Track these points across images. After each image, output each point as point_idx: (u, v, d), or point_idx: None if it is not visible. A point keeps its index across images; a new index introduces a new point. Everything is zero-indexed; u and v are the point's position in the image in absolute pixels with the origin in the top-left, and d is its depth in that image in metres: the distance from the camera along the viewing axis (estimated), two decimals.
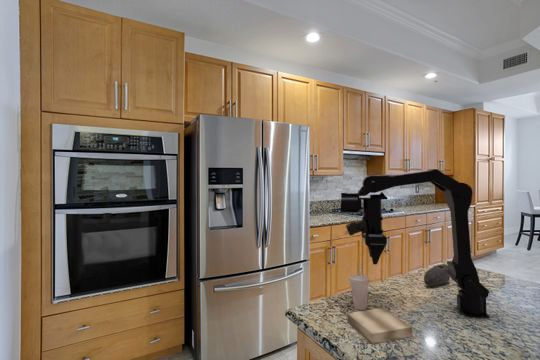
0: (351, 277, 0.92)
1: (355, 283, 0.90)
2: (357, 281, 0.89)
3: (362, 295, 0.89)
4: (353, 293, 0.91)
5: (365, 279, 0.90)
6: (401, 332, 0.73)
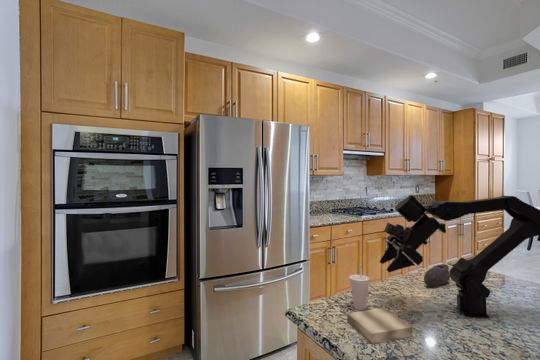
0: (351, 277, 0.92)
1: (355, 283, 0.90)
2: (357, 281, 0.89)
3: (362, 295, 0.89)
4: (353, 293, 0.91)
5: (365, 279, 0.90)
6: (401, 332, 0.73)
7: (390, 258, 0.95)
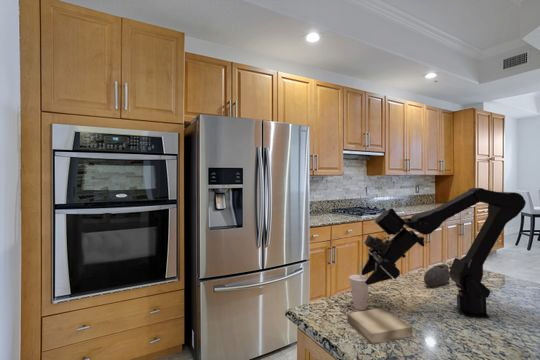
0: (351, 277, 0.92)
1: (355, 283, 0.90)
2: (357, 281, 0.89)
3: (362, 295, 0.89)
4: (353, 293, 0.91)
5: (365, 279, 0.90)
6: (401, 332, 0.73)
7: (371, 270, 0.96)
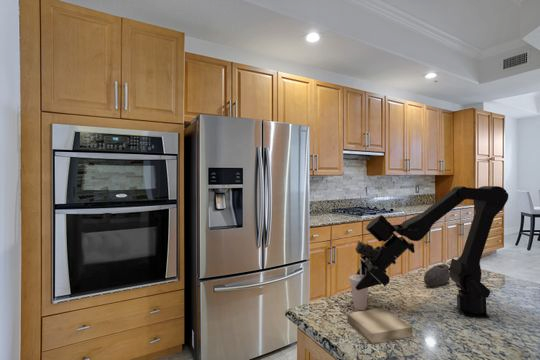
0: (351, 277, 0.92)
1: (355, 283, 0.90)
2: (357, 281, 0.89)
3: (362, 295, 0.89)
4: (353, 293, 0.91)
5: None
6: (401, 332, 0.73)
7: None
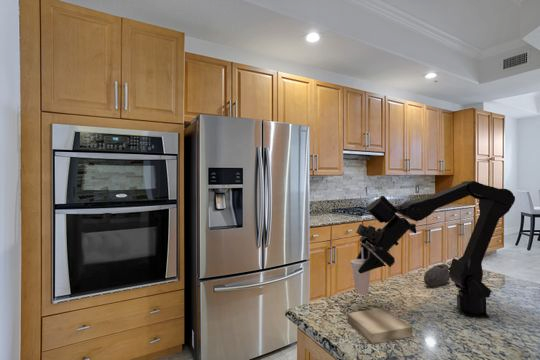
0: (352, 261, 0.89)
1: (357, 266, 0.87)
2: (359, 264, 0.86)
3: (365, 279, 0.87)
4: (355, 277, 0.88)
5: None
6: (401, 332, 0.73)
7: None
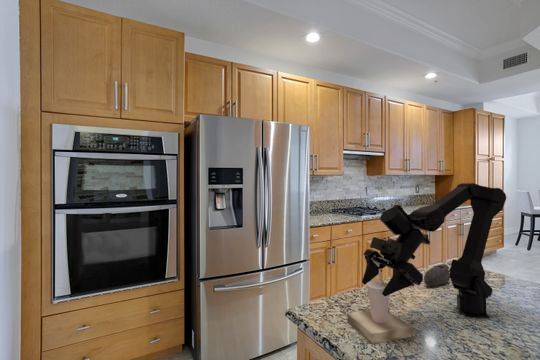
0: (370, 285, 0.78)
1: (379, 292, 0.75)
2: (382, 290, 0.75)
3: (386, 306, 0.76)
4: (374, 304, 0.76)
5: None
6: (401, 332, 0.73)
7: (372, 277, 0.83)
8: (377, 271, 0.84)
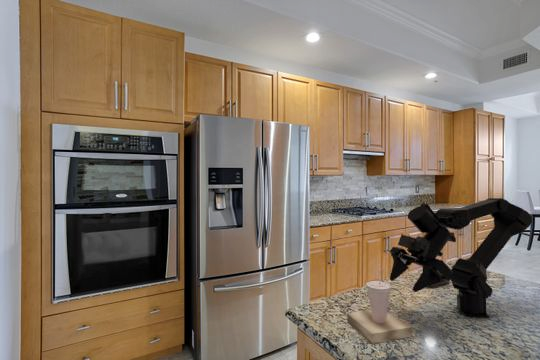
0: (370, 286, 0.78)
1: (379, 292, 0.75)
2: (381, 290, 0.75)
3: (385, 306, 0.76)
4: (374, 304, 0.76)
5: (387, 286, 0.77)
6: (401, 332, 0.73)
7: (399, 273, 0.86)
8: (404, 268, 0.87)
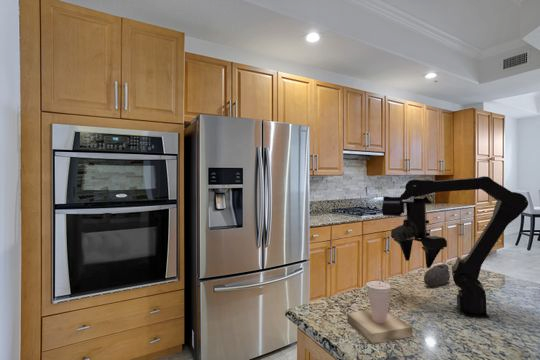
0: (370, 285, 0.78)
1: (379, 292, 0.75)
2: (381, 290, 0.75)
3: (385, 306, 0.76)
4: (374, 304, 0.76)
5: (387, 286, 0.77)
6: (401, 332, 0.73)
7: (409, 250, 0.99)
8: (410, 243, 0.99)
